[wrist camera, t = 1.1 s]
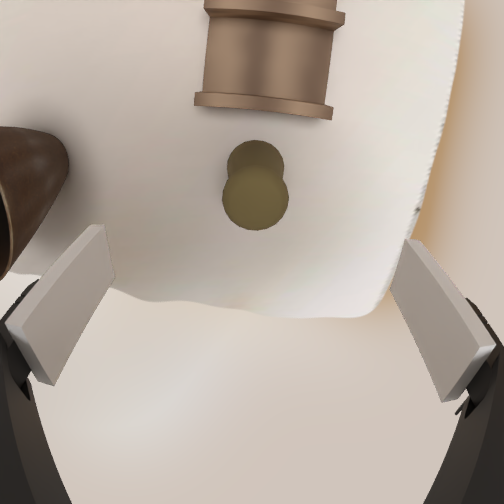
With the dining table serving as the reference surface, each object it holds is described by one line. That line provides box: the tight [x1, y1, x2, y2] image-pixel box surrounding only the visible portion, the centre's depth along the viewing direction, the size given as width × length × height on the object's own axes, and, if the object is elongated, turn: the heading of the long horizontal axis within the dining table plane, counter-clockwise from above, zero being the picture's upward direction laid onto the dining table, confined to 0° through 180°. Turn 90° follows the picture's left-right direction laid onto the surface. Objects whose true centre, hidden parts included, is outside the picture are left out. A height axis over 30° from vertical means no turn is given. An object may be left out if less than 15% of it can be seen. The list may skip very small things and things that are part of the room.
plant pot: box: [0, 126, 69, 281], centre depth 25 cm, size 15×15×16 cm
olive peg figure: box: [222, 140, 289, 231], centre depth 28 cm, size 6×6×11 cm
